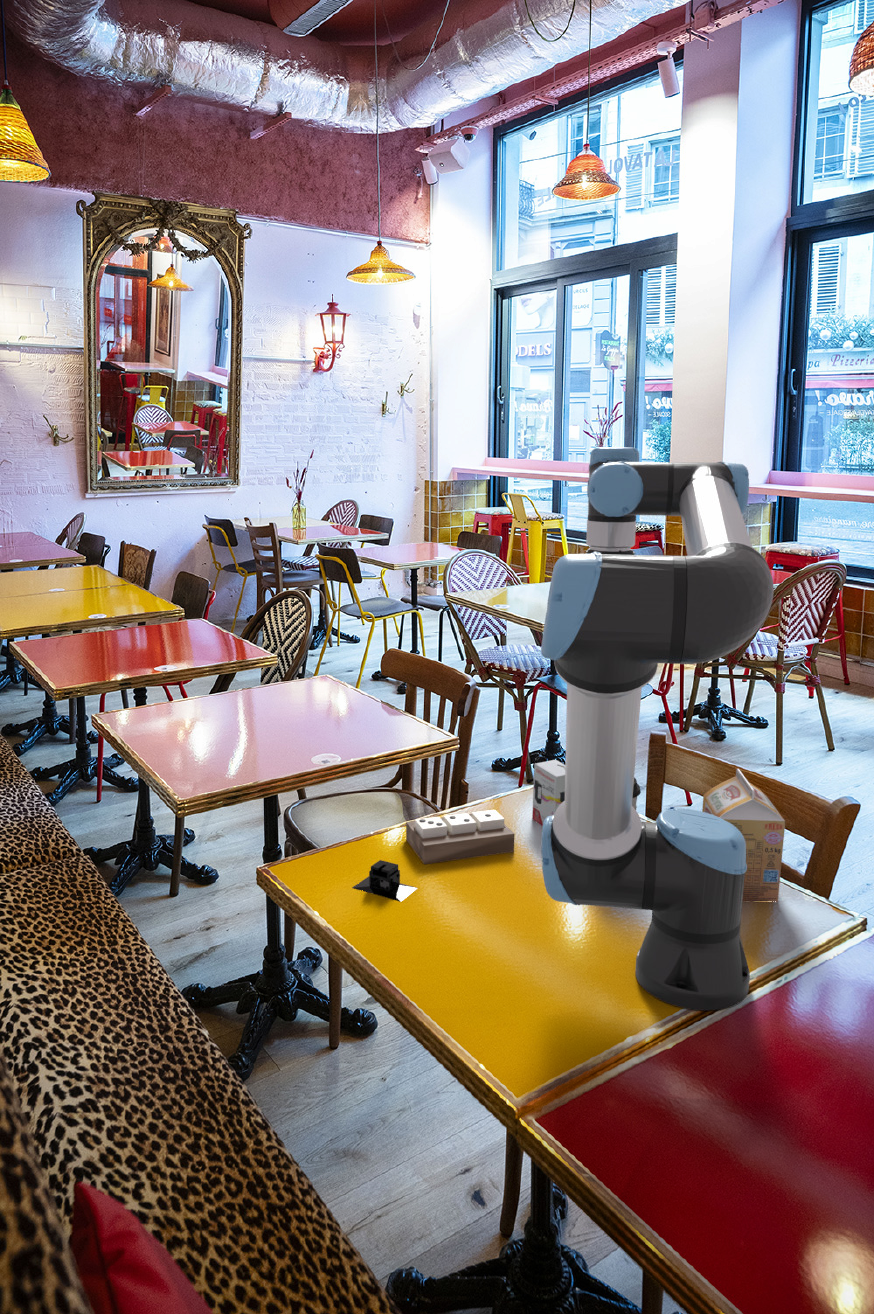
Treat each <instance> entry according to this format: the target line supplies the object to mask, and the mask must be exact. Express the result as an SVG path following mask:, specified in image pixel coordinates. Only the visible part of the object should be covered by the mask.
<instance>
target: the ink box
mask: <svg viewBox="0 0 874 1314" xmlns="http://www.w3.org/2000/svg"><path fill="white" fill-rule="evenodd" d="M533 771H534V772H533V788H532V789H533V793H532V813H531V814H532V815H531V816H532V817H531V819H532V820H533V821H534V822H536V823H537V824H538V825H540V826H541V827H543V823H544V820H545V818H546V817H548V816H553V815H554V814H555V812H556V810H557V808H558V807H559V805H560V804H561V803H562V802H563V801H565V764H564V763H563V762H560V761H559V760H557V759H552V760H548V761H542V762H537V763H536V762H535V763H534V766H533Z"/></svg>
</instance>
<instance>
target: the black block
mask: <svg viewBox="0 0 874 1314" xmlns="http://www.w3.org/2000/svg"><path fill="white" fill-rule="evenodd" d="M368 874H369V875H368V876H367V877H366V878H364V879H363V880H361V881H360V882H358V883H359V884H358V883H356V884H355V885H354V886H352V887H351V888H352V890H353V889H354V890H357V891H360V890H361V891H360V892H364V893H367V894H371V895H375V896H379V897H381V898H386V899H389V900H392V901H396V902H399V903H400V902H402V901H404V900H405V899H407V897H409V896H410V895H411V894H412V893H413V892H415V891H416V890H417V889H418V887H416V886H413V885H408V884H405V883H402V882H401V871H400V869H399V864H397V863H393V862H390V861H385V860H382V859H379V860H378V861H376V862H375V863H374V864H372V865H370V870H369V873H368ZM362 890H363V891H362Z"/></svg>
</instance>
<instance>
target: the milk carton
mask: <svg viewBox="0 0 874 1314" xmlns="http://www.w3.org/2000/svg"><path fill="white" fill-rule="evenodd" d="M701 812H705V813H709V814H712V815H714V816H717V817H719V818H722V819H723V820H725V821H727V822H729V823H731V824H732V825H734V826H735V827H736V828H737V829H738V830H739V831H740V832H741V833H742V835H743V837H744V839H745V842H746V864H747V870H746V872H745V875H744V887H743V899H742V901H745V902H746V901H751V902H750V903H753V902H752V901H772V902H773V901H774V902H775V901H776V902H779V895H780V894H779V893H780V883H781V870H782V863H783V862H782V861H783V850H784V849H783V848H784V841H785V840H784V839H785V831H786V830H785V829H786V820H785V819H784V817H783V816H782V815H781V813H780V811H778V809H777V808H776V806H775V805H774V804H773V803H772V801H771V799H769V797H768V796H767V795H766V794H765V793H764V792H763V791H762V790H761V789H760V788H759V787H757V786H755V785H754V784H753V783H751V782H749V780H748V779H747V778H746V777H745V776H744V773H742V771H741V770H740V769H739V768H736V771H735V776H733V777H730V778H729V779H726V780H724V781H722V782H720V783H719V784H716V785H715V786H713V787H712V788H710V789H709V790H708V791H706V792H705V793H703V798H702V810H701ZM745 902H744V903H745ZM746 903H747V902H746Z"/></svg>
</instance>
